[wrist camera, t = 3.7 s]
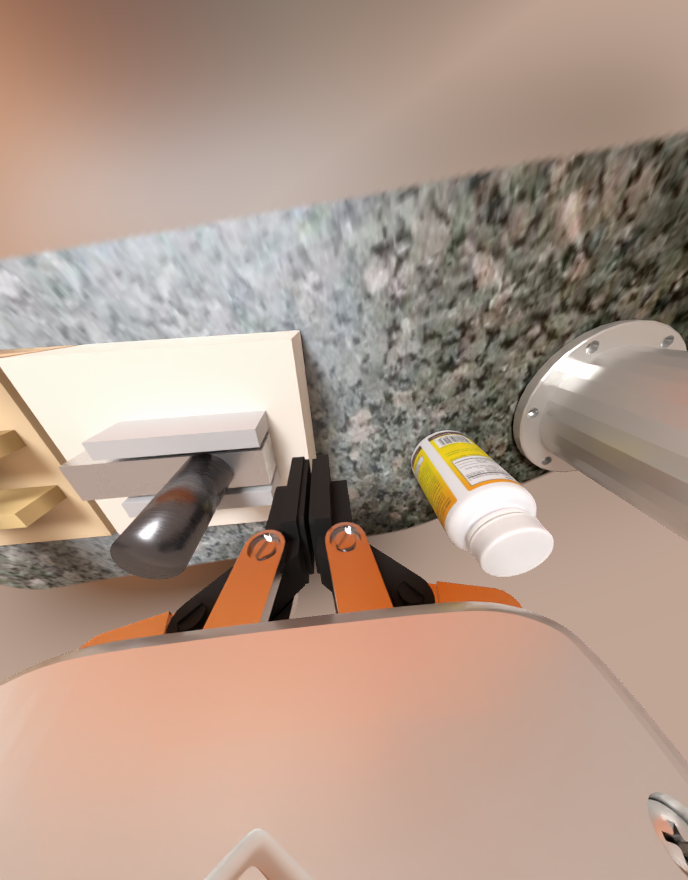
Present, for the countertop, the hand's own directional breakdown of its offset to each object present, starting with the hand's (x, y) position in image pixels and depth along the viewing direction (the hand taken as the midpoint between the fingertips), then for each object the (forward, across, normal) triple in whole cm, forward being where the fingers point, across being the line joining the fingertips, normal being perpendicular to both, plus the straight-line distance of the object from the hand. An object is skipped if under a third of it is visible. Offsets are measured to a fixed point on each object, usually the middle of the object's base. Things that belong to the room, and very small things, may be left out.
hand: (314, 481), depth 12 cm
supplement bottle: (+9, -10, +5) cm, 15 cm away
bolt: (+4, +8, 0) cm, 8 cm away
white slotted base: (+9, +7, 0) cm, 12 cm away
